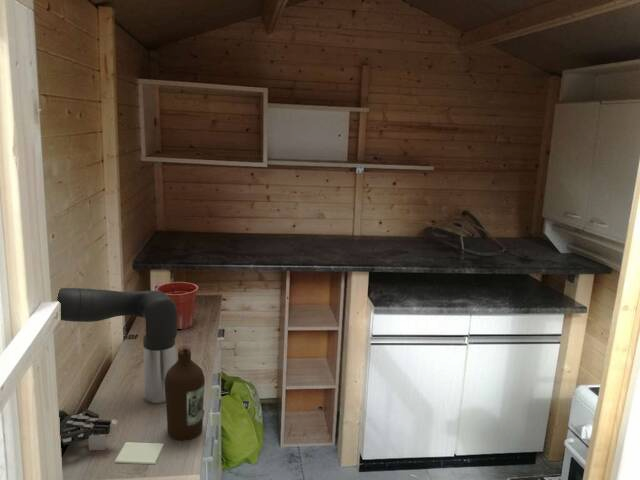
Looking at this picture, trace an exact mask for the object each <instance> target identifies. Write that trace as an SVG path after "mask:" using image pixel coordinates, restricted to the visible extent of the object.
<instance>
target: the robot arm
mask: <svg viewBox="0 0 640 480" xmlns="http://www.w3.org/2000/svg"><path fill="white" fill-rule="evenodd" d="M60 288H61V289H60V290H59V293H58V297H57V298H58V299H57V300H58V301H59V302H60V303H61V320H60V321H65V322H72V323H73V322H77V323H83V322H84V323H90V322H91V323H92V322H93V323H95V322H100V321H105V320H107V319H112V318H116V317H125V316H129V317H139V318H144V319H145V335H144V336H143V340H142V341H143V343H142V346H143V373H144V374H143V377H144V381H143V382H144V398H145V401H147V402H148V403H153V404H163V403H166V397H165V384H164V381H165V377H166V374H167V372H168V370H169V369H170V368H171V367H172V366H173V365H174V364H175V363H176V338H177V335H178V330H177V308H176V305H175V303H174V302H173V300H172V299H171V298H170V297H169V296H168V295H167V294H165V293H163V292H161V291H157V290H143V291H122V290H121V291H119V290H109V289H96V288H84V287H83V288H79V287H60ZM58 410H59V417H60V435H61V439H62V445H63V446H67V445H70V444H74V443H78V442H83V441H86V440H88V439H89V436H92V435H94V434H103V435H104V434H109V432H110V424H111V421H112V420H110V419H109V420H108V419H107V420H106V419H105V420H104V419H100V414H98V413H97V412H94V411H92V410H89V409H88V408H84V409H82V412H81V413H79V414H78V413H73V414H68V413H67V412H66V411H65V410H63V409H58Z"/></svg>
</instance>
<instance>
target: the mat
mask: <svg viewBox="0 0 640 480" xmlns="http://www.w3.org/2000/svg"><path fill="white" fill-rule="evenodd" d="M164 445H165V444H164V443H159V442H157V443H154V442H134V441H133V442H132V441H131V442H127V441H126V442H125V443H124V445H123V446H122V449H121V450H120V452H119V454H118V455H117V457H116V458H115V460H114V464H131V465H132V464H135V465H156V463H157V461H158V459H159V456H160V455H161V452H162V450H163V448H164Z"/></svg>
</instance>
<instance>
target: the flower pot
mask: <svg viewBox="0 0 640 480" xmlns="http://www.w3.org/2000/svg"><path fill="white" fill-rule="evenodd" d="M198 289H199V286H198V285H197V284H195V283H192V282H185V281H175V282H174V281H173V282H167V283H164V284H163V283H162V284H160V285H158V286H157V287H156V289H155V291H161V292H163V293H165V294H167V295H168V296H169V297H170V298H171V299H172V300H173V302H174V303H175V305H176V308H177V329H182V330H185V329H184V328H186V329H189V328H191V327H192V326H193V325H194V317H195V316H194V315H195V303H196V298H197V291H198ZM190 326H191V327H190ZM188 327H189V328H188Z"/></svg>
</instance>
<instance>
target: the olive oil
mask: <svg viewBox="0 0 640 480" xmlns="http://www.w3.org/2000/svg"><path fill="white" fill-rule="evenodd" d="M177 351H178V352H177V360H176V361H175V364H174V365H173V366H172V367H171V368H170V369H169V370H168V372H167V374H166V377H165V381H164V384H165V397H166V402H165V407H166V423H167V425H166V426H167V435H168V436H169V437H170V438H171V439H175V440H178V441H187V440H188V441H189V440H192V439H194V438H197V437H198V436H199V435H201V434H202V432H203V424H204V423H203V422H204V421H203V418H204V417H205V410H204V402H205V401H204V399H205V386H206V385H205V382H206V381H205V380H206V379H205V375H204V372H203V369H202V368H201V366H199V365H198V364H197V363H196V362H194V361H193V360H192V358H191V357H192V351H191V346H190V345H187V344H184V345H180V346H179V347H178V349H177Z"/></svg>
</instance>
